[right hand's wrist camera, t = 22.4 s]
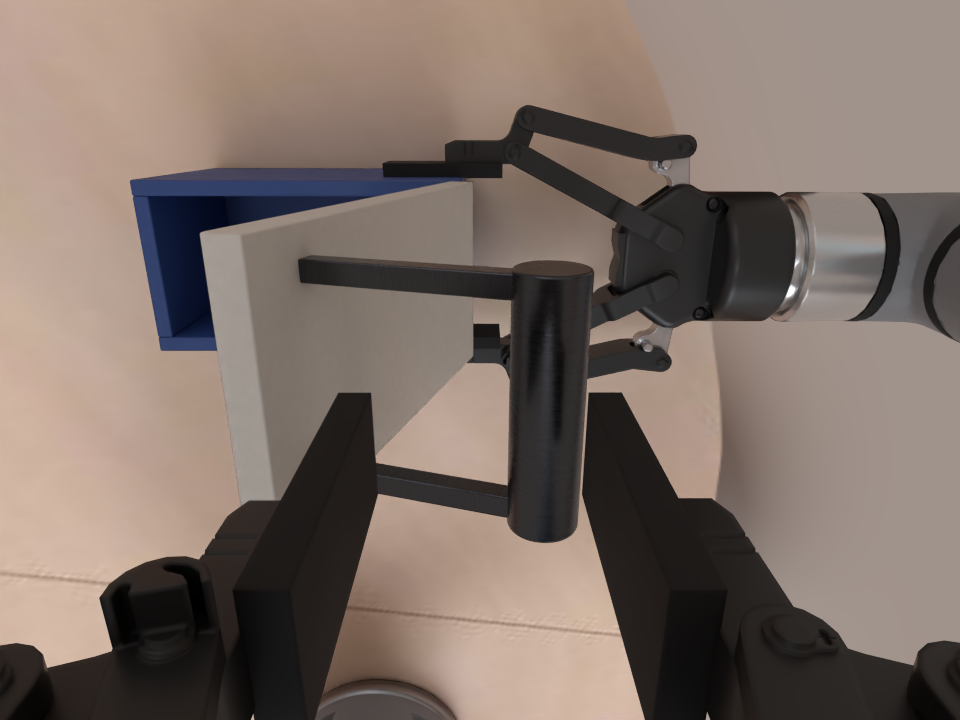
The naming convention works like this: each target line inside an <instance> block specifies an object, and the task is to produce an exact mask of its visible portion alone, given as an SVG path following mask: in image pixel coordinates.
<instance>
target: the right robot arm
mask: <svg viewBox="0 0 960 720" xmlns="http://www.w3.org/2000/svg"><path fill="white" fill-rule="evenodd" d="M377 496H378V488H377V473H376V458H375V443H374V428H373V413H372V398H371V393H338V394H337V396H336V398H335V400H334V402H333V403H332V405H331V407H330V409H329V411H328V413H327V415H326V416H325V418H324V420H323V422H322V424H321V426H320V428H319V430H318V431H317V433H316V435H315V437H314V439H313V441H312V443H311V444H310V446H309V448H308V450H307V452H306V454H305V456H304V457H303V459H302V461H301V463H300V465H299V467H298V469H297V470H296V472H295V474H294V476H293V478H292V480H291V482H290V484H289V485H288V487H287V489H286V491H285V493H284V495H283V497H282V498H281V500H249V501H247V502H246V503H245V504H243V505H242V506H241V507H239V508H238V509H237V510H235V511H234V512H233V513H231V514H230V515H229V516H227V518H226V519H225V521H224V522H223V524H222V525H221V527H220V529H219V530H218V532H217V533H216V535H215V539H212V541H211V542H210V544H209V545H208V547H207V548H206V550H205V555H202V556H201V558H200V559H199V560H198V559H194V558H190V557H187V556H180V557H165V558H161V559H157V560H153V561H149V562H145V563H143V564H141V565H139V566H137V567H135V568H133V569H131V570H128V571H126V572H125V573H123V574H122V575H121V576H120V577H118V578H117V579H116V580H114V581H113V582H112V583H110V584H109V585H108V587H107V588H106V590H105V591H104V592H103V594H102V595H101V596H100V598H99V599H100V603H101V606H102V610H103V614H104V618H105V621H106V625H107V629H108V633H109V637H110V640H111V644H112V648H113V649H112V651H111V652H108V653H105V654H102V655H99V656H95V657H91V658H87V659H83V660H79V661H75V662H70V663H66V664H62V665H58V666H54V667H50V668H47V666H46V663H45V660H44V657H43V654H42V653H41V652H40V651H38V650H37V649H36V648H35V647H34V646H31V645H25V644H18V643H14V644H8V645H1V646H0V720H251V718H252V715H253V714H254V720H315V718H316V714H317V711H318V707H319V704H320V700H321V696H322V693H323V689H324V686H325V682H326V678H327V675H328V671H329V668H330V664H331V661H332V657H333V653H334V650H335V646H336V643H337V639H338V636H339V632H340V628H341V625H342V621H343V618H344V614H345V610H346V607H347V603H348V600H349V596H350V593H351V589H352V585H353V582H354V578H355V575H356V571H357V568H358V564H359V560H360V557H361V553H362V550H363V546H364V542H365V539H366V535H367V532H368V528H369V525H370V521H371V517H372V514H373V510H374V507H375V503H376V499H377ZM582 496H583V499H584V503H585V507H586V510H587V514H588V517H589V521H590V525H591V528H592V532H593V535H594V539H595V542H596V546H597V550H598V553H599V557H600V560H601V564H602V568H603V571H604V575H605V578H606V582H607V585H608V589H609V593H610V596H611V600H612V603H613V607H614V610H615V614H616V618H617V621H618V625H619V628H620V632H621V636H622V639H623V643H624V646H625V650H626V653H627V657H628V661H629V664H630V668H631V671H632V675H633V678H634V682H635V686H636V689H637V693H638V696H639V700H640V704H641V707H642V711H643V714H644V718H645V720H706V714H707V712H708V715H709V717H710V720H960V643H957V642H950V641H939V642H933V643H927V644H926V645H925V646H924V647H923V648H922V649H921V650H919V651H918V654H917V657H916V660H915V663H914V666H913V665H909V664H905V663H900V662H896V661H892V660H888V659H884V658H879V657H875V656H871V655H867V654H863V653H860V652H857V651H854V650H851V649H848V648H847V647H846V645H845V643H844V642H843V640H842V639H841V637H840V635H839V634H838V633H837V632H836V631H835V630H834V629H833V628H831V627H830V626H829V625H828V624H827V623H826V622H824V621H823V620H822V619H820V618H818V617H816V616H814V615H812V614H810V613H809V612H807V611H805V610H802V609H799V608H795V607H793V605H792V604H791V602H790V601H789V599H788V598H787V596H786V595H785V593H784V592H783V590H782V588H781V587H780V585H779V584H778V582H777V581H776V579H775V578H774V576H773V575H772V573H771V572H770V570H769V569H768V567H767V566H766V564H765V563H764V561H763V560H762V558H761V556H760V555H759V553H756V552H755V547H754V546H753V544H752V543H751V541H750V540H749V538H748V537H745V532H744V531H743V529H742V528H741V526H740V524H739V523H738V521H737V520H736V518H735V517H734V515H733V514H732V513H730V512H729V511H728V510H726V509H725V508H724V507H722V506H721V505H719V504H718V503H717V502H716V501H714V500H713V499H711V498H678V497H677V495H676V493H675V491H674V489H673V487H672V485H671V484H670V482H669V480H668V478H667V476H666V474H665V472H664V470H663V469H662V467H661V465H660V463H659V461H658V459H657V457H656V456H655V454H654V452H653V450H652V448H651V446H650V444H649V443H648V441H647V439H646V437H645V435H644V433H643V431H642V430H641V428H640V426H639V424H638V422H637V420H636V418H635V417H634V415H633V413H632V411H631V409H630V407H629V405H628V403H627V402H626V400H625V398H624V396H623V394H622V393H589V398H588V413H587V428H586V443H585V458H584V473H583V488H582Z"/></svg>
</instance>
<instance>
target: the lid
mask: <svg viewBox="0 0 960 720" xmlns="http://www.w3.org/2000/svg"><path fill="white" fill-rule="evenodd" d="M200 239H201V246H202V252H203V259H204V266H205V272H206V279H207V285H208V292H209V299H210V305H211V312H212V318H213V325H214V331H215V338H216V345H217V351H218V358H219V364H220V371H221V378H222V384H223V391H224V397H225V404H226V411H227V417H228V424H229V430H230V437H231V444H232V450H233V457H234V463H235V470H236V477H237V483H238V490H239V496H240V503H241V506H242V505H243V504H245V503H246V502H247V501H249V500H281V498H282V497H283V495H284V493H285V491H286V489H287V487H288V485H289V484H290V482H291V480H292V478H293V476H294V474H295V472H296V470H297V469H298V467H299V465H300V463H301V461H302V459H303V457H304V456H305V454H306V452H307V450H308V448H309V446H310V444H311V443H312V441H313V439H314V437H315V435H316V433H317V431H318V430H319V428H320V426H321V424H322V422H323V420H324V418H325V416H326V415H327V413H328V411H329V409H330V407H331V405H332V403H333V402H334V400H335V398H336V396H337V394H338V393H371V398H372V413H373V428H374V443H375V455H376V454H377V453H378V452H379V451H380V450H381V449H382V448H383V447H384V446H385V445H386V444H387V443H388V442H389V441H390V440H391V439H392V438H393V437H394V436H395V435H396V434H397V433H398V432H399V431H400V430H401V429H402V428H403V427H404V426H405V425H406V424H407V423H408V422H409V421H410V420H411V419H412V418H413V417H414V416H415V415H416V414H417V413H418V412H419V410H420V409H421V408H422V407H423V406H424V405H425V404H426V403H427V402H428V401H429V400H430V399H431V398H432V397H433V396H434V395H435V394H436V393H437V392H438V391H439V390H440V389H441V388H442V387H443V386H444V385H445V384H446V383H447V382H448V381H449V380H450V379H451V378H452V377H453V376H454V375H455V374H456V373H457V372H458V371H459V370H460V369H461V368H462V367H463V366H464V365H465V364H466V363H467V362H468V361H469V360H470V359H471V358H472V357H473V297H475V298H487V299H499V300H511V346H510V396H509V446H508V486H507V485H501V484H495V483H490V482H484V481H478V480H472V479H466V478H460V477H455V476H449V475H443V474H437V473H431V472H425V471H420V470H414V469H408V468H402V467H396V466H390V465H385V464H379V463H376V473H377V488H378V494H383V495H388V496H394V497H399V498H404V499H410V500H415V501H420V502H426V503H431V504H436V505H442V506H447V507H453V508H458V509H463V510H469V511H474V512H479V513H485V514H490V515H495V516H501V517H506V518H507V522H508V525H509V527H510V529H511V530H512V531H513V532H514V533H515V534H516V535H518V536H520V537H521V538H524V539H526V540H529V541H533V542H539V543H552V542H558V541H561V540H564V539H566V538H568V537H569V536H571V535H572V534H573V533H574V531H575V530H576V528H577V524H578V509H579V494H580V479H581V464H582V449H583V433H584V418H585V403H586V388H587V373H588V358H589V342H590V327H591V312H592V297H593V282H594V271H593V269H592V268H591V267H589V266H587V265H584V264H580V263H575V262H568V261H531V262H525V263H521V264H518V265H516V266H514V267H513V268H498V267H483V266H473V182H454V181H450V182H445V183H440V184H435V185H430V186H426V187H421V188H416V189H411V190H406V191H401V192H396V193H391V194H386V195H381V196H376V197H371V198H366V199H361V200H356V201H352V202H347V203H342V204H337V205H332V206H327V207H322V208H317V209H312V210H307V211H302V212H297V213H292V214H287V215H282V216H278V217H273V218H268V219H263V220H258V221H253V222H248V223H243V224H238V225H233V226H228V227H223V228H218V229H213V230H208V231H203V232H201V233H200Z"/></svg>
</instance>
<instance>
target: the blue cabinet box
mask: <svg viewBox="0 0 960 720" xmlns="http://www.w3.org/2000/svg"><path fill="white" fill-rule="evenodd" d="M450 181H454V182H465V178H461V177H383V169H326V168H213V169H206V170H199V171H192V172H185V173H178V174H170V175H163V176H156V177H149V178H142V179H135V180H130V184H131V190H132V195H133V196H134V197H133V201H134V206H135V212H136V217H137V222H138V228H139V233H140V239H141V244H142V250H143V255H144V260H145V266H146V271H147V277H148V282H149V287H150V293H151V298H152V304H153V309H154V314H155V320H156V325H157V331H158V336H159V342H160V348H161V350H162V351H217V345H216V338H215V331H214V325H213V318H212V312H211V305H210V299H209V292H208V285H207V279H206V272H205V266H204V259H203V252H202V246H201V239H200V233H201V232H203V231H208V230H213V229H218V228H223V227H228V226H233V225H238V224H243V223H248V222H253V221H258V220H263V219H268V218H273V217H278V216H282V215H287V214H292V213H297V212H302V211H307V210H312V209H317V208H322V207H327V206H332V205H337V204H342V203H347V202H352V201H356V200H361V199H366V198H371V197H376V196H381V195H386V194H391V193H396V192H401V191H406V190H411V189H416V188H421V187H426V186H430V185H435V184H440V183H445V182H450Z"/></svg>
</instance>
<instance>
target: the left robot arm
mask: <svg viewBox="0 0 960 720" xmlns="http://www.w3.org/2000/svg"><path fill="white" fill-rule="evenodd" d="M534 132H535V133H539V134H543V135H547V136H551V137H554V138H558V139H562V140H566V141H570V142H573V143H577V144H581V145H585V146H589V147H592V148H596V149H600V150H604V151H608V152H611V153H615V154H619V155H623V156H627V157H631V158H636V159H641V160H647V161H648V164H649V168H650V170H651V171H652V172H654V173H656V174H661V175H663V176H664V177H665V178H666V179H667V183H668V185H667V186H665V187H664V188H662V189H661V190H659V191H658V192H656V193H655V194H653V195H652V196H651V197H649V198H648V199H646V200H645V201H643V202H642V203H640V204H639V205H638V206H636V207H635V206H633V205H632V204H630V203H628V202H626V201H624V200H623V199H621V198H619V197H617V196H615V195H613V194H612V193H610V192H608V191H606V190H604V189H603V188H601V187H599V186H597V185H596V184H594V183H592V182H590V181H588V180H587V179H585V178H583V177H581V176H579V175H578V174H576V173H574V172H572V171H570V170H569V169H567V168H565V167H563V166H561V165H560V164H558V163H556V162H554V161H552V160H551V159H549V158H547V157H545V156H544V155H542V154H540V153H538V152H536V151H535V150H533V149H531V148H529V147H528V146H529V144H530V141H531V138H532V136H533V133H534ZM696 148H697V143H696V140H695V138H694V137H692V136H691V135H674V134H673V135H664V136H655V137H647V136H644V135H640V134H636V133H632V132H629V131H625V130H621V129H617V128H614V127H610V126H606V125H602V124H599V123H595V122H591V121H587V120H584V119H580V118H576V117H572V116H569V115H565V114H561V113H557V112H554V111H550V110H546V109H542V108H539V107H535V106H531V105H526V106H523V107H521V108H520V109H519V110H518V111H517V112H516V114H515V118H514V120H513V123H512V126H511V129H510V131H509V133H508V135H507V136H506V137H505V138H503V139H501V140H455V141H452V142H450V143H448V144H445V161H388V162H385V163H383V177H461V178H502V164H512V165H514V166H516V167H517V168H519V169H521V170H523V171H525V172H526V173H528V174H530V175H532V176H534V177H536V178H537V179H539V180H541V181H543V182H545V183H546V184H548V185H550V186H552V187H554V188H556V189H557V190H559V191H561V192H563V193H565V194H566V195H568V196H570V197H572V198H574V199H576V200H577V201H579V202H581V203H583V204H585V205H586V206H588V207H590V208H592V209H594V210H596V211H597V212H599V213H601V214H603V215H605V216H606V217H608V218H610V219H612V220H613V221H615V222H617V224H616V227H615V228H612V246H613V251H614V255H613V258H612V261H611V264H610V268H609V280H610V281H611V283H609V284H606V285H604V286H602V287H600V288H599V289H597V290H596V291H595V292H594V293H593V297H592V312H591V327H590V329H592V328H594V327H596V326H599V325H601V324H603V323H605V322H607V321H615V320H618V319H620V318H622V317H624V316H626V315H628V314H631V313H633V312H635V311H639V312H640V313H641V314H643V315H644V316H645V317H647V318H648V319H649V320H651V321H652V322H653V324H652V326H651V327H650V328H649V329H647V330H645V331H639V332H637V333H636V334H635V335H634V336H633V339H629V338H628V339H618V340H612V341H608V342H603V343H599V344H594V345H590V346H589V358H588V373H587V379H589V378H593V377H598V376H602V375H607V374H612V373H616V372H621V371H625V370H630V369H638V370H647V371H656V372H664V371H666V370H668V369H669V368H670V366H671V363H672V360H671V358H670V356H669V355H668V354H667V351H668V347H669V343H670V338H671V334H672V330H673V328H675V327H678V326H680V325H682V324H684V323H686V322H690V321H763V320H765V319H767V318H769V317H770V318H772V319H773V320H775V321H782V322H783V321H890V322H910V323H916V324H921V325H924V326H926V327H928V328H930V329H933V330H935V331H937V332H939V333H942V334H944V335H946V336H947V337H949V338H951V339H953V340H955V341H957V342H959V343H960V193H886V194H872V193H849V192H786V193H784V194H782V195H780V196H778V195H777V194H775V193H773V192H707V191H701V190H699V189H697V188H695V187H694V186H692V185H690V156H692V155H693V154H694V152H695V151H696ZM510 346H511V334H509V335H507V336H505V337H503V338H500V330H499V324H473V357H472V358H471V359H470V360H469V361H468V362H467V363H498V364H500V365H502V366H503V367H504V368H505V369H506V371H507V374H508V377H509V379H510ZM315 720H455V718H454V716H453V715H452V713H451V712H450V711H449V710H448V708H447V707H446V706H445V705H444V704H443V703H442V702H440V701H439V700H438V699H437V698H435V697H434V696H432V695H431V694H429V693H427V692H426V691H424V690H422V689H419V688H417V687H414V686H412V685H409V684H405V683H401V682H396V681H389V680H365V681H358V682H353V683H349V684H346V685H343V686H340V687H338V688H336V689H334V690H332V691H330V692H328V693H327V694H325V695H324V696H323V697H321V700H320V704H319V707H318V711H317V714H316V718H315Z"/></svg>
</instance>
